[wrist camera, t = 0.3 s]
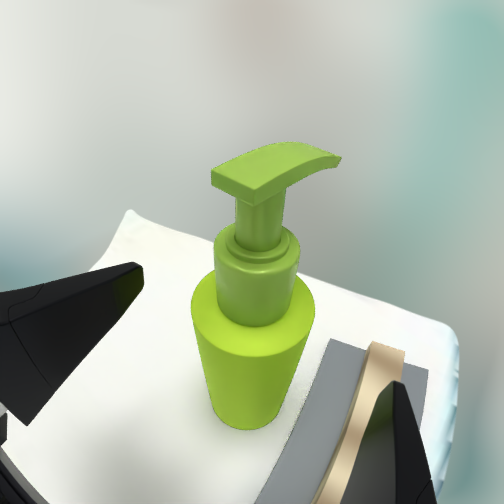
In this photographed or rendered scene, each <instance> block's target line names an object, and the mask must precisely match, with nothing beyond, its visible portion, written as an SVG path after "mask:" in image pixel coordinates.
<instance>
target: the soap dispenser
mask: <svg viewBox="0 0 504 504" xmlns="http://www.w3.org/2000/svg"><path fill="white" fill-rule="evenodd" d="M340 160H341V157H340V156H338V155H335V154H332V153H330V152H327V151H324V150H322V149H319V148H316V147H313V146H311V145H308V144H304V143H300V142H280V143H274V144H270V145H266V146H263V147H260V148H258V149H255V150H252V151H250V152H247V153H245V154H243V155H240V156H238V157H236V158H234V159H232V160H229V161H227V162H225V163H223V164H221V165H219V166H217V167H215V168H213V169H211V183H212V186H214V187H216V188H218V189H221V190H222V191H224V192H226V193H228V194H230V195H232V196H234V197H236V207H235V213H236V215H235V216H236V217H235V223H233V224H231V225H229V226H227V227H225V228H224V229H223V230H222V231H221V232H220V233H219V234H218V235H217V237H216V239H215V242H214V266H215V270H213V271H212V272H210V273H209V274H208V275H206V276H205V277H204V278H203V279H202V280H201V281H200V283H199V284H198V285H197V287H196V289H195V291H194V293H193V296H192V300H191V315H192V320H193V325H194V330H195V334H196V339H197V344H198V348H199V353H200V357H201V361H202V366H203V370H204V374H205V378H206V382H207V386H208V390H209V394H210V398H211V402H212V406H213V409H214V411H215V413H216V414H217V416H218V417H219V418H220V419H221V420H222V421H223V422H224V423H226V424H227V425H229V426H231V427H233V428H236V429H241V430H253V429H258V428H261V427H263V426H265V425H267V424H268V423H270V422H271V421H272V420H273V419H274V418H275V417H276V415H277V414H278V412H279V410H280V408H281V405H282V403H283V401H284V398H285V396H286V393H287V391H288V388H289V386H290V383H291V381H292V378H293V376H294V373H295V371H296V368H297V365H298V363H299V360H300V358H301V355H302V352H303V349H304V347H305V344H306V341H307V338H308V336H309V333H310V330H311V327H312V324H313V321H314V317H315V304H314V299H313V296H312V294H311V292H310V290H309V288H308V287H307V286H306V284H305V283H304V282H303V281H302V280H301V279H300V278H299V277H298V276H297V275H296V273H297V268H298V263H299V257H300V245H299V242H298V240H297V238H296V237H295V236H294V234H293V233H292V232H290V231H289V230H288V229H286V228H285V227H283V226H282V220H283V210H284V203H285V194H286V188H287V187H289V186H291V185H292V184H294V183H296V182H298V181H300V180H301V179H303V178H305V177H307V176H309V175H311V174H313V173H315V172H318V171H320V170H323V169H328V168H336V167H337V166H338V164H339V162H340Z"/></svg>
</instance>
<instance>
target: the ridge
mask: <svg viewBox="0 0 504 504" xmlns="http://www.w3.org/2000/svg"><path fill="white" fill-rule="evenodd" d="M404 356H405V351H402V350H399V349H396V348H392V347H389V346H386V345H383V344H380V343H377V342H374V341H372V342H371V344H370V345H369V347H368V348H367V350H366V353H365V357H364V361H363V364H362V368H361V372H360V375H359V379H358V382H357V386H356V389H355V392H354V396H353V399H352V402H351V405H350V408H349V411H348V414H347V417H346V420H345V423H344V426H343V429H342V432H341V434H340V437H339V440H338V442H337V445H336V447H335V450H334V453H333V455H332V458H331V460H330V462H329V465H328V467H327V470H326V472H325V474H324V476H323V479H322V481H321V483H320V485H319V487H318V490H317V492H316V494H315V496H314V498H313V500H312V502H311V504H340V501H341V499H342V496H343V494H344V491H345V488H346V486H347V483H348V480H349V477H350V474H351V471H352V468H353V465H354V462H355V459H356V456H357V452H358V449H359V446H360V443H361V439H362V437H363V434H364V431H365V429H366V426H367V424H368V421H369V419H370V416H371V413H372V410H373V408H374V405H375V402H376V399H377V397H378V395H379V393H380V392H381V391H382V390H383V389H384V388H385V387H386V386H387V385H388V384H389V383H390V382H391V381H393V380H396V381H399V382H400V380H401V375H402V369H403V363H404Z"/></svg>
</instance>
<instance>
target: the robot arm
mask: <svg viewBox="0 0 504 504" xmlns="http://www.w3.org/2000/svg"><path fill="white" fill-rule="evenodd" d="M143 287H144V274H143V268H142V266H141V265H139V264H137V263H135V262H128V263H124V264H120V265H116V266H112V267H108V268H103V269H99V270H95V271H91V272H87V273H83V274H79V275H75V276H71V277H67V278H63V279H59V280H55V281H51V282H48V283H45V284H44V283H43V284H39V285H35V286H31V287H27V288H22V289H17V290H12V291H6V292H0V504H49V503H48V502H47V501H46V500H45V499H44V498H43V497H42V496H41V495H40V494H39V493H38V492H37V491H36V489H35V488H34V487H33V486H32V485H31V484H30V483H29V482H28V481H27V479H26V478H25V477H24V476H23V475H22V473H21V472H20V471H19V470H18V469H17V467H16V466H15V465H14V464H13V462H12V461H11V460H10V458H9V457H8V456H7V454H6V453H5V452H4V450H3V449H2V448H1V445H2V444H3V443H4V442H5V441H6V440H7V413H6V411H7V410H9V411H10V412H11V413H12V414H13V415H14V416H15V417H16V418H18V419H19V420H20V421H21V422H22V423H23V424H24V425H26V426H28V425H29V424H30V423H31V422H32V420H33V419H34V418H35V417H36V415H37V414H38V413H39V412H40V410H41V409H42V408H43V407H44V405H45V404H46V403H47V402H48V401H49V399H50V398H51V397H52V396H53V394H54V393H55V392H56V391H57V390H58V388H59V387H60V386H61V385H62V384H63V382H64V381H65V380H66V379H67V378H68V377H69V375H70V374H71V373H72V372H73V371H74V370H75V368H76V367H77V366H78V365H79V364H80V363H81V362H82V360H83V359H84V358H85V357H86V356H87V355H88V354H89V352H90V351H91V350H92V349H93V348H94V347H95V346H96V345H97V344H98V342H99V341H100V340H101V339H102V338H103V337H104V336H105V335H106V334H107V332H108V331H109V330H110V329H111V328H112V327H113V326H114V325H115V324H116V323H117V322H118V320H119V319H120V318H121V317H122V315H123V314H124V313H125V312H126V310H127V309H128V308H129V306H130V305H131V304H132V302H133V301H134V300H135V298H136V297H137V296H138V294H139V293H140V292H141V291H142V289H143ZM340 504H437V501H436V496H435V492H434V487H433V483H432V480H431V474H430V470H429V466H428V461H427V457H426V453H425V450H424V446H423V442H422V438H421V435H420V431H419V428H418V425H417V421H416V418H415V415H414V411H413V408H412V405H411V402H410V399H409V396H408V393H407V390H406V387H405V385H404V384H403V383H402V382H399V381H396V380H393V381H391V382H390V383H389V384H388V385H387V386H386V387H385V388H384V389H383V390H382V391H381V392H380V393H379V395H378V397H377V399H376V402H375V405H374V408H373V410H372V413H371V416H370V419H369V421H368V424H367V426H366V429H365V431H364V434H363V437H362V439H361V443H360V446H359V449H358V452H357V456H356V459H355V462H354V465H353V468H352V471H351V474H350V477H349V480H348V483H347V486H346V488H345V491H344V494H343V496H342V499H341V501H340Z"/></svg>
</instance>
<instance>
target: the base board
mask: <svg viewBox="0 0 504 504" xmlns="http://www.w3.org/2000/svg"><path fill="white" fill-rule="evenodd" d="M365 353H366V350H363V349H360V348H357V347H354V346H351V345H349V344H346V343H343V342H340V341H337V340H334V339H331V338H330V341H329V343H328V346H327V348H326V351H325V354H324V356H323V359H322V362H321V364H320V367H319V370H318V372H317V375H316V377H315V380H314V382H313V385H312V387H311V390H310V392H309V394H308V397H307V399H306V401H305V404H304V406H303V408H302V411H301V413H300V415H299V418H298V420H297V422H296V424H295V426H294V429H293V431H292V433H291V435H290V437H289V439H288V441H287V443H286V445H285V447H284V449H283V451H282V454H281V456H280V457H279V459H278V461H277V463H276V465H275V467H274V469H273V471H272V473H271V475H270V477H269V479H268V480H267V482H266V484H265V486H264V488H263V489H262V491H261V493H260V495H259V497H258V498H257V500H256V502H255V503H254V504H311V502H312V500H313V498H314V496H315V494H316V492H317V490H318V487H319V485H320V483H321V481H322V479H323V476H324V474H325V472H326V470H327V467H328V465H329V462H330V460H331V458H332V455H333V453H334V450H335V447H336V445H337V442H338V440H339V437H340V434H341V432H342V429H343V426H344V423H345V420H346V417H347V414H348V411H349V408H350V405H351V402H352V399H353V396H354V392H355V389H356V386H357V382H358V379H359V375H360V372H361V368H362V364H363V361H364V357H365ZM428 371H429V370H428V369H424V368H421V367H417V366H414V365H411V364H407V363H403V369H402V375H401V380H400V382H402V383H403V384H404V385H405V387H406V390H407V393H408V396H409V399H410V402H411V405H412V408H413V411H414V415H415V418H416V421H417V425H418V428H419V430H420V425H421V420H422V415H423V409H424V402H425V396H426V388H427V380H428Z"/></svg>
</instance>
